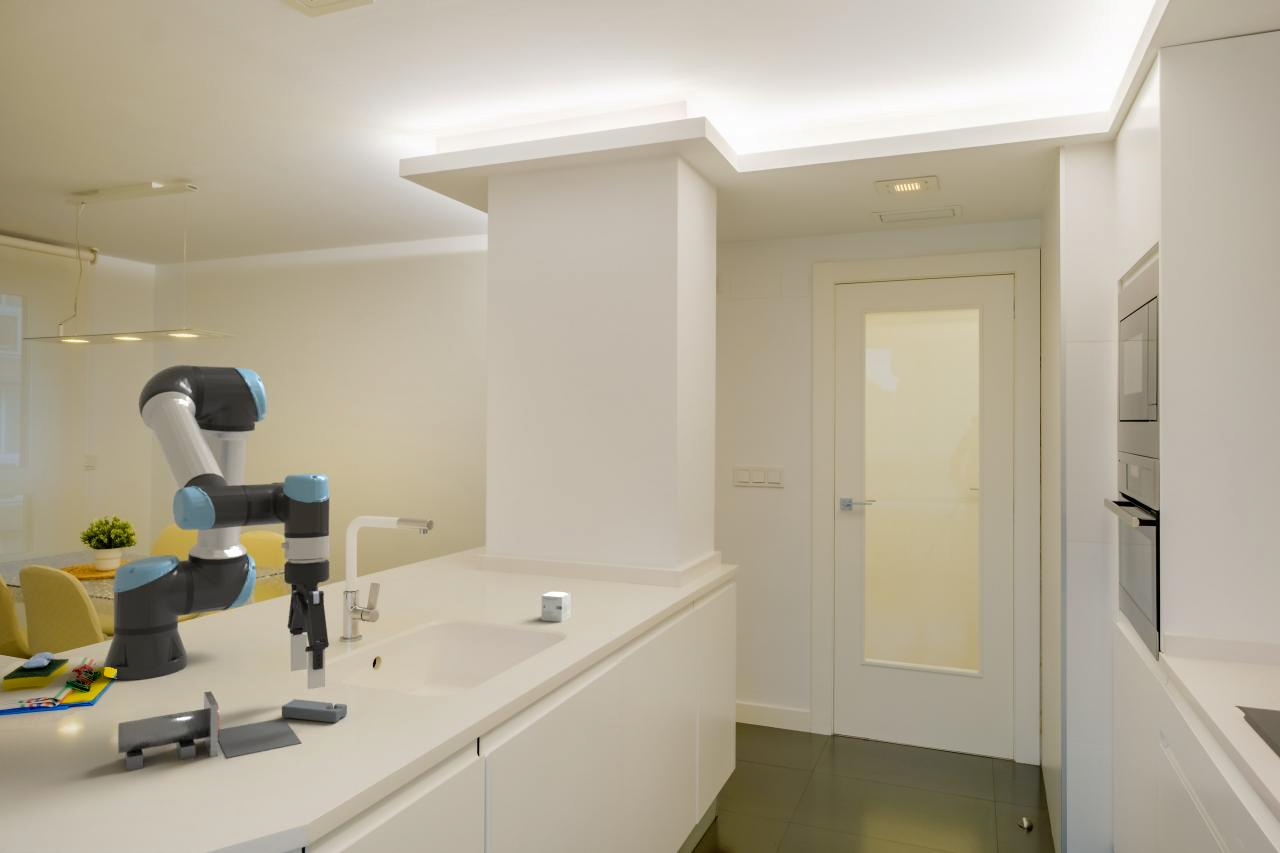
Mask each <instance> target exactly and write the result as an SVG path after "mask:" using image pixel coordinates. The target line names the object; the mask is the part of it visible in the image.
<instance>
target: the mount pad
mask: <svg viewBox="0 0 1280 853" xmlns="http://www.w3.org/2000/svg"><path fill="white" fill-rule="evenodd" d="M218 744H219V745H220V747H221V749H222V751H223V754H224V755H225V758H226V759H231V758H237V757H241V756H247V755H252V754H257V753H261V752H266V751H270V750H277V749H280V748H286V747H287V748H288V747H291V746H296V745H301V744H302V741H301V739H300V738H299V737H298V736H297V735H296V733H295V731H294V730H293V728H292V727H291V726H290V724H289V723H288V722H287V720H286V718H285V717H281V718H276V719H269V720H263V721H259V722H254V723H253V722H252V723H248V724H243V725H241V724H240V725H237V726H230V727H226V728H220V729H219V738H218Z"/></svg>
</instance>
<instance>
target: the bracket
mask: <svg viewBox="0 0 1280 853" xmlns="http://www.w3.org/2000/svg"><path fill="white" fill-rule="evenodd" d="M347 715H348V705H347V704H345V703H336V704H334V706H333V703H332V702H327V701H326V702H325V701H315V700H304V699H295V698H294V699H293V700H291V701H289V702H287V703H286V704H283V705H282V706H281V718H287V719H289V718H290V719H298V720H299V719H300V720H306V721H307V720H308V721H314V722H315V721H317V722H326V723H333V724H334V723H336V722H338V721H340V720H341V719H342V718H344V717H346V716H347Z"/></svg>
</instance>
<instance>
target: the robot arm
mask: <svg viewBox="0 0 1280 853" xmlns="http://www.w3.org/2000/svg"><path fill="white" fill-rule="evenodd" d="M266 394H267V393H266V389H265V386H264V383H263V381H262V378H261V377H260V375H259V374H258V373H257V372H255V371H254V370H253V369H249V368H246V369H245V368H239V367H234V366H233V367H232V366H202V365H198V366H197V365H190V364H189V365H186V364H185V365H184V364H180V365H173V366H170V367H166V368H165V369H162V370H160V371H159V372H157V373H156V374H154V375H153V376H152V377H151V378H150V379H149V380H148V381H147V382H146V383H145V385H144V386H143V388H142V389H141V392H140V394H139V398H138V399H139V400H138V409H139V413H140V416H141V418H142V421H143V423H144V424H145V426H146V427H148V428H149V430H152V431H154V434H155V437H156V439H157V441H158V443H159V447H161V450H162V452H163V454H164V455H163V456H164V457H165V459H166V461H167V464H168V467H169V469H170V470H171V473H172V475H173V478H174V480H175V482H176V485H177V487H178V488H179V489H177V490H176V492H175V494H174V497H173V502H172V511H173V515H174V516H173V518H174V522H175V524H176V526H177V527H178V528H179V529H181V530H185V531H187V530H189V531H191V530H192V531H193V530H197V538H196V543H195V544H194V545H193V546H192V547H191V548H189V550H188V558H187V560H181V561H180V559H179V558H178V555H174V554H173V555H172V554H166V555H165V554H164V555H155V556H150V557H144V558H140V559H136V560H132V561H129V562H126V563H124V564H122V565H120V566H119V567H118V568H117V569H116V570H115V573H114V580H113V588H112V592H113V637H112V638H113V639H112V642H111V643H110V647H109V650H108V652H107V654H106V657H105V661H104V663H103V668H104V667H111V668H114V669H117V676H116V678H117V679H121V680H120V681H132V680H134V681H135V680H136V679H137V680H145V679H146V680H147V679H153V678H157V677H158V676H159V677H162V676H167V675H170V673H171V674H174V673H177V672H179V670H180V671H182V670H184V669H186V668H187V666H188V654H187V651H186V649H185V646H184V643H183V641H182V640H183V639H182V637H181V635H180V632H179V625H178V624H179V623H178V622H179V617H180V616H181V617H182V616H186V615H187V616H188V615H195V614H200V613H201V614H203V613H209V612H216V611H217V612H218V611H227V610H230V609H234V608H239V607H242V606H245V604H247V602H248V601H250V599H251V597H252V595H253V593H254V590H255V585H256V580H257V570H256V562H255V560H254V557H253V556H251V555H250V554H248V549H247V547H245V546H244V545H243V544H242V543H241V538H242V537H241V534H242V527H254V526H265V525H277V524H278V525H279V524H280V525H281V524H283V526H284V527H283V528H284V536H283V537H284V542H282V543H281V544H280V547H281V549H284V558H285V560H287V561H286V562H285V563H284V565H283V567H284V573H283V574H284V575H283V576H284V579H283V580H284V582H285V583H286V584H288V585H290V588H291V594H290V595H291V596H290V602H289V614H288V622H287V629H288V630H289V633H290V671H291V672H297V671H302V670H307V689H308V690H311V689H317V688H324V687H325V688H326V649H328V648H329V645H330V642H329V637H328V629H327V628H328V627H327V619H326V610H325V602H324V601H325V600H324V597H325V593H324V591H323V590H319V586H318V585H319V584H320V583H325V582H327V581H328V580H329V579H330V560H328V559H327V558H329V557H330V552H331V551H330V550H331V549H330V546H331V545H330V497H331V493H330V487H329V486H330V485H329V478H328V475H325V474H323V473H295V474H294V473H293V474H289V475H286V477H285V478H284V482H282V481H281V482H271V483H265V484H264V483H262V484H245V469H246V468H245V467H246V451H247V438H248V437H249V436H250V435H251V434H252V433H254V432H255V429H256V428H255V427H256V426H255V425H256V423H259V422H261V421H263V420H264V418H265V415H266V413H267V404H268V402H267V395H266ZM181 669H182V670H181ZM159 677H158V678H159Z"/></svg>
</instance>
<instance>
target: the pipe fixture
mask: <svg viewBox="0 0 1280 853" xmlns="http://www.w3.org/2000/svg"><path fill="white" fill-rule="evenodd" d="M203 696H204V697H203V708H202V709H201V708H200V709H196V710H190V711H189V710H188V711H184V712H178V713H172V714H166V715H158V716H153V717H148V718H141V719H136V720H129V721H124V722H118V725H117V750H118V751H117V752H118V754H123V753H125V754H124V758H125V767H126V771H127V772H130V771H131V772H132V771H135V770H136V771H137V770H140V769H141V770H142V769H143V768H144V754H143V750H145V749H150V748H151V749H152V748H156V747H162V746H168V745H172V744H176V751H177V754H178V757H179V759H180V761H186V760H192V759H196V744H195V741H194V740H200V739H203V742H204V744H205V748H206V749H207V750H206V751H207V752H208V753H209V754H208V755H209V757H210V758H213V757H217V756H218V755H219V754H218V753H219V750H218V749H219V748H218V746H219V741H218V738H219V729H221V726H220V711H219V704H218V702H217V700H216V699H215V697H214V694H213V693H212V691H206V692H204V693H203Z"/></svg>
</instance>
